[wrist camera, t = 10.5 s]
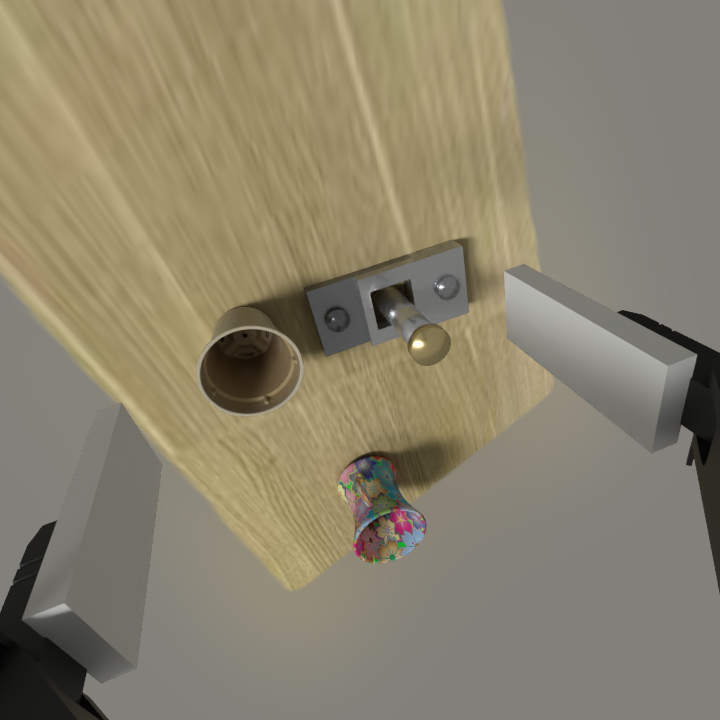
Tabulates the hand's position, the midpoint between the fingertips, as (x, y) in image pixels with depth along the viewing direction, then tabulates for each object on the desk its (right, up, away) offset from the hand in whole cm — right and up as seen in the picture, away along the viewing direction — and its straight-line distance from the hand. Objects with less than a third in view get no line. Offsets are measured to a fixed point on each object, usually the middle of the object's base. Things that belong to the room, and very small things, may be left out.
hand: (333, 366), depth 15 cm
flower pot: (-11, +3, +33) cm, 35 cm away
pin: (+4, +7, +35) cm, 36 cm away
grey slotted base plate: (+4, +7, +35) cm, 36 cm away
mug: (+1, -15, +47) cm, 50 cm away
